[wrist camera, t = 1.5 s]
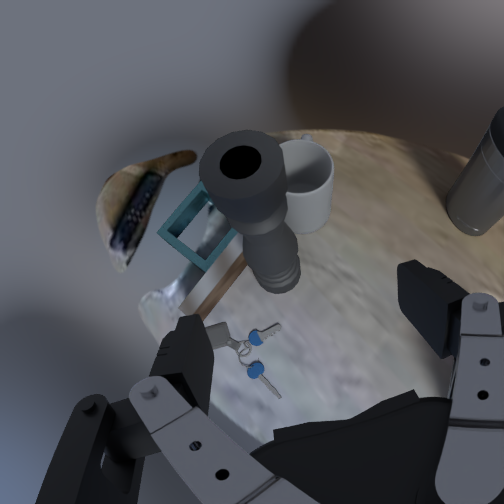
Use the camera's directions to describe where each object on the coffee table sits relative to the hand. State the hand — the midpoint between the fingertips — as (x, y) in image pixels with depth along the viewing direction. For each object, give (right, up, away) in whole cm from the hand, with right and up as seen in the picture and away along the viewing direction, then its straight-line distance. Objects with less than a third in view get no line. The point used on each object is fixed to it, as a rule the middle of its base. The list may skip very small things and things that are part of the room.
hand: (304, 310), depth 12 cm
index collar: (-8, +5, +35) cm, 36 cm away
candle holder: (+2, -1, +31) cm, 31 cm away
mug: (+6, +10, +34) cm, 36 cm away
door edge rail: (-4, -1, +32) cm, 32 cm away
